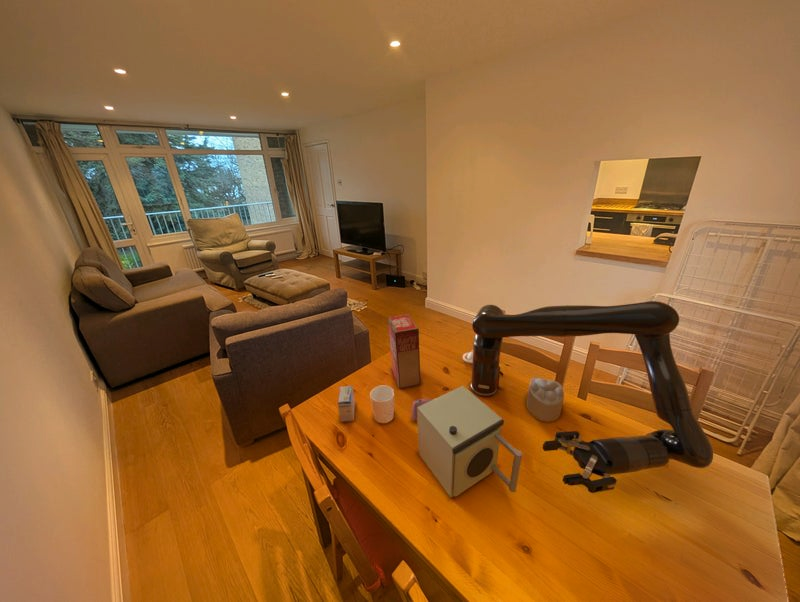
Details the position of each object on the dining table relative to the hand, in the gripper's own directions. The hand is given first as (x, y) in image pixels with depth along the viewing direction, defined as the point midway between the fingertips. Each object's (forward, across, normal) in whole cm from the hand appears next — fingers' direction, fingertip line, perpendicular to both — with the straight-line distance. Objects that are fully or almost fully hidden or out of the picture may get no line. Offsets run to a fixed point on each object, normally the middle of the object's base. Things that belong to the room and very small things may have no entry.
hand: (553, 462), depth 69 cm
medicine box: (+52, +34, -11) cm, 64 cm away
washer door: (+15, +1, -10) cm, 18 cm away
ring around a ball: (+1, +57, -12) cm, 58 cm away
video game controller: (+26, +29, -12) cm, 40 cm away
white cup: (+40, +31, -11) cm, 52 cm away
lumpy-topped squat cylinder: (-14, +28, -12) cm, 33 cm away
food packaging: (+30, +51, -11) cm, 60 cm away
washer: (+20, +12, -11) cm, 26 cm away
